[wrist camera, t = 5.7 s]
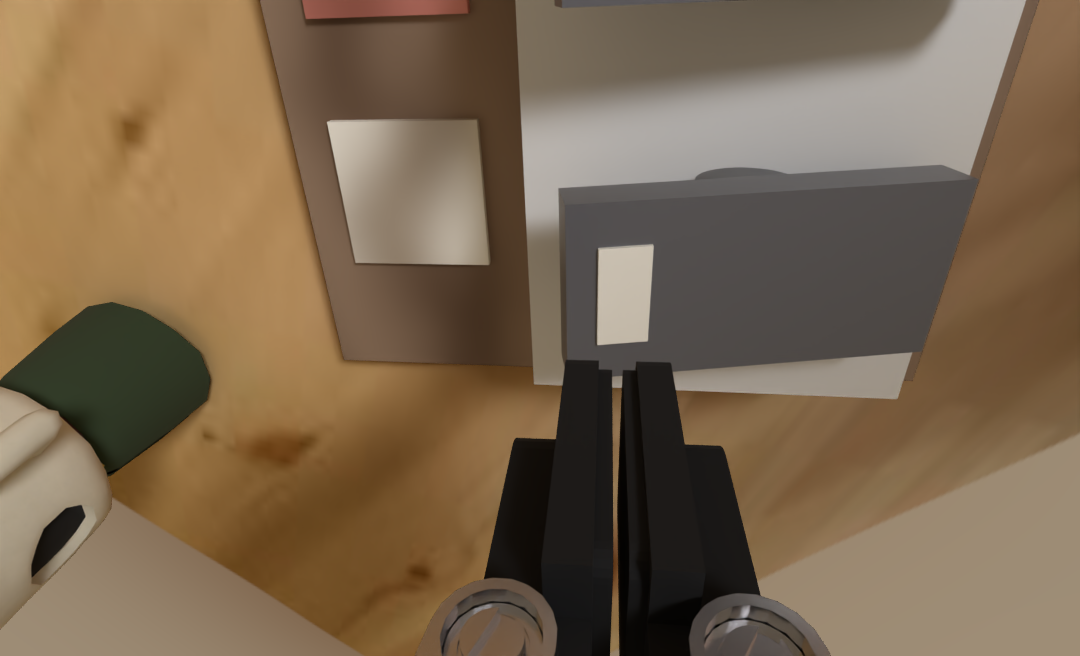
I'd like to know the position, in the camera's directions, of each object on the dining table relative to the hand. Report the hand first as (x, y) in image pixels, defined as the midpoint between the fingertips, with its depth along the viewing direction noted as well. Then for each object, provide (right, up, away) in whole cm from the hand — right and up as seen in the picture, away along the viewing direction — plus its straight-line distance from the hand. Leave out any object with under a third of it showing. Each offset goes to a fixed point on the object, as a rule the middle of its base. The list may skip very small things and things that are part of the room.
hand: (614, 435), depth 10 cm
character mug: (-19, +1, +18) cm, 26 cm away
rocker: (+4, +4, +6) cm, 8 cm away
